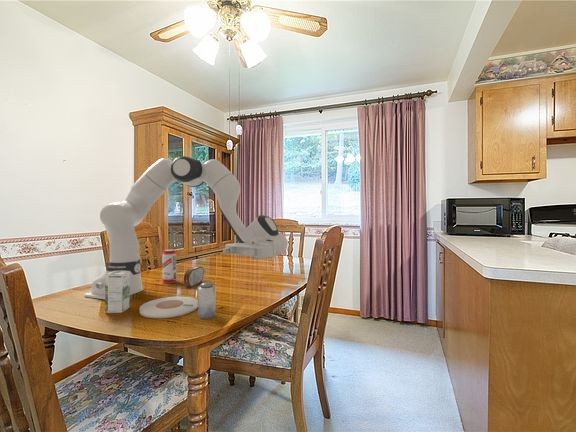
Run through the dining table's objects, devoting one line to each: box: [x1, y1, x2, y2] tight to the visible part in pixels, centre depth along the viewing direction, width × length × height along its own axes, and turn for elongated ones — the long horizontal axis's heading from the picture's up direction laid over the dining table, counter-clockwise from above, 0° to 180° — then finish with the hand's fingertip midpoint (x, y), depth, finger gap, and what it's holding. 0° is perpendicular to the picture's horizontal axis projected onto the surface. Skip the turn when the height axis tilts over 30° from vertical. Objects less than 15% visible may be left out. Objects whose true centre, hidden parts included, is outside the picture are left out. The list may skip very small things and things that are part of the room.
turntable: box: [139, 296, 198, 319], centre depth 105 cm, size 19×19×2 cm
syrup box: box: [104, 270, 131, 314], centre depth 104 cm, size 6×6×14 cm
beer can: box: [161, 248, 177, 285], centre depth 147 cm, size 6×6×16 cm
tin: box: [183, 265, 205, 288], centre depth 143 cm, size 15×3×8 cm, turn 169°
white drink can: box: [197, 281, 216, 320], centre depth 98 cm, size 6×6×12 cm
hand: (233, 252), depth 107 cm, fingers open, 8 cm apart
